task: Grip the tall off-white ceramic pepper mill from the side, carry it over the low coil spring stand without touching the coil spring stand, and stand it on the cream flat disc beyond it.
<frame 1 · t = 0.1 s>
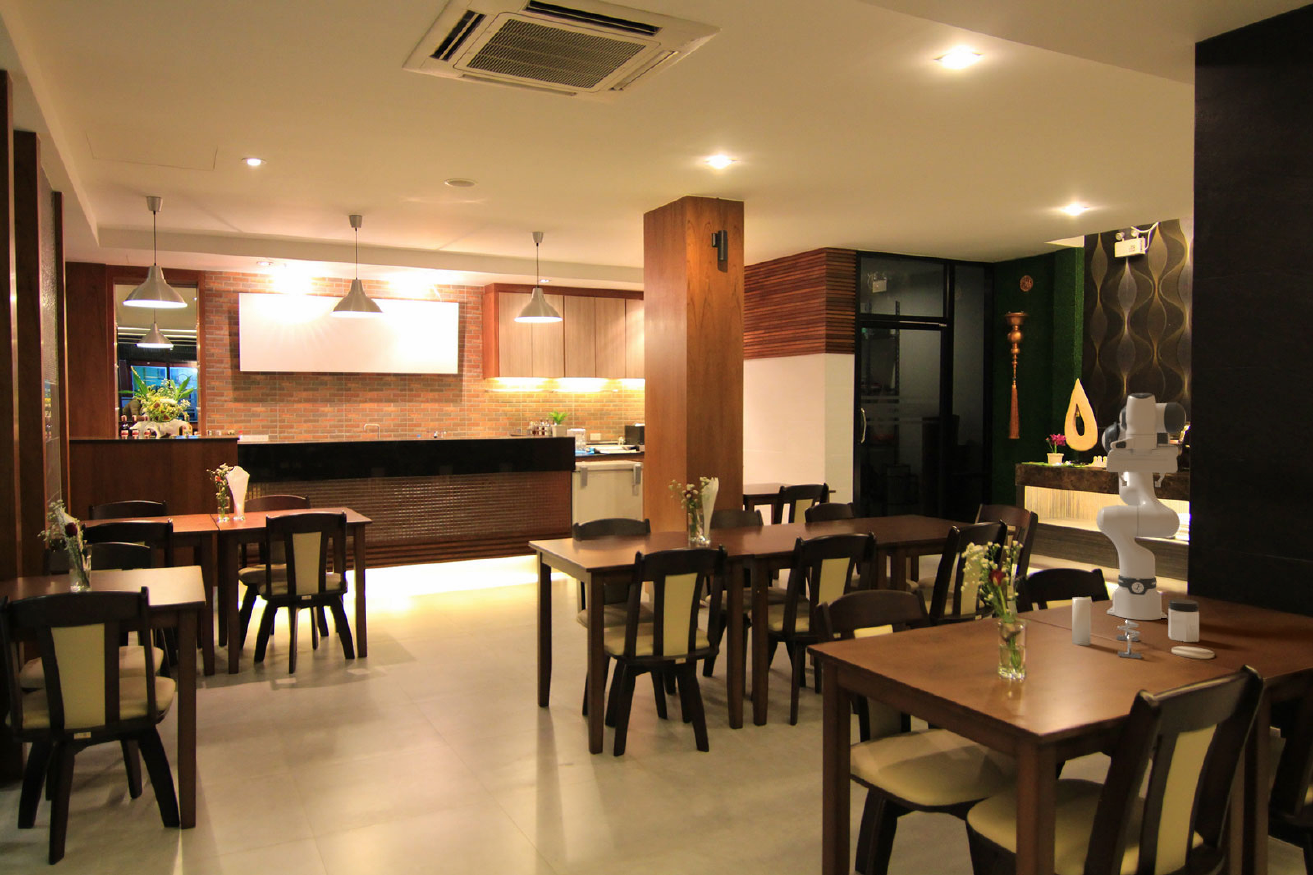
hand: (1141, 486, 290), 48 cm above the table, tool pointing down, fingers open, 8 cm apart
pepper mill: (1081, 643, 282), on the table
coil spring stand: (1128, 648, 276), on the table
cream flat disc: (1192, 653, 269), on the table
jar: (1183, 639, 286), on the table
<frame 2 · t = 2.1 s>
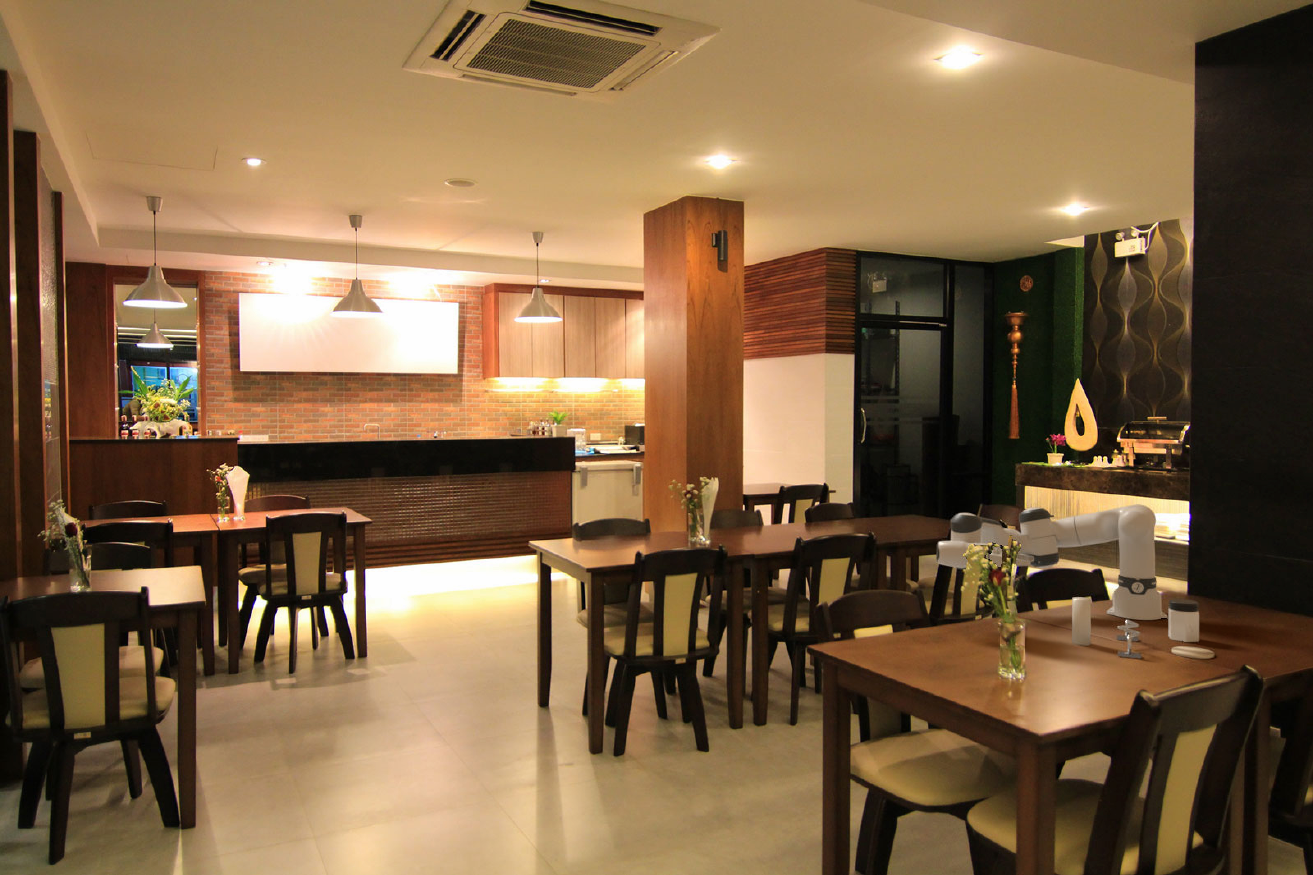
hand: (1032, 561, 289), 25 cm above the table, tool horizontal, fingers open, 8 cm apart
nothing on the table moved.
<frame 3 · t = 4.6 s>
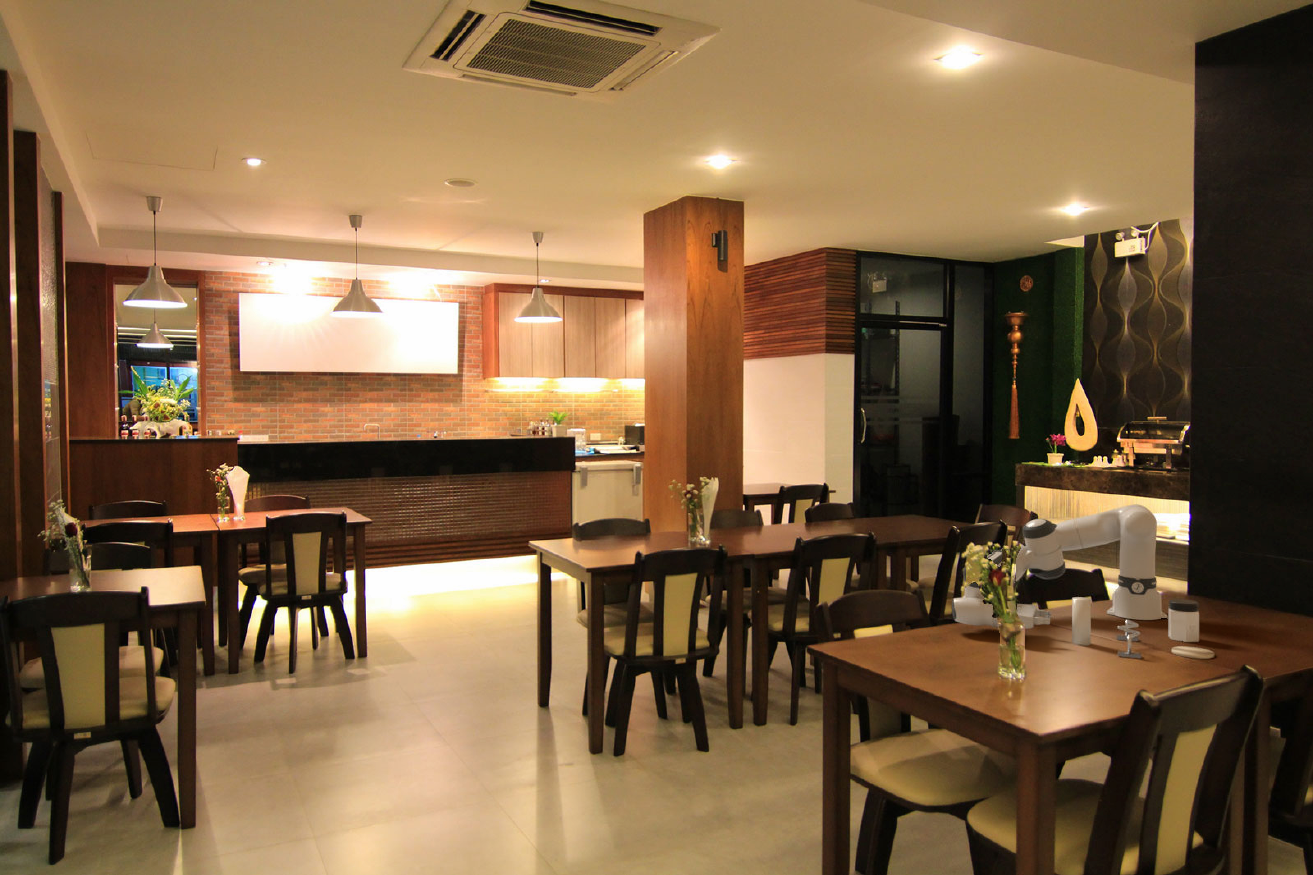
hand: (1050, 617, 285), 7 cm above the table, tool horizontal, fingers open, 8 cm apart
nothing on the table moved.
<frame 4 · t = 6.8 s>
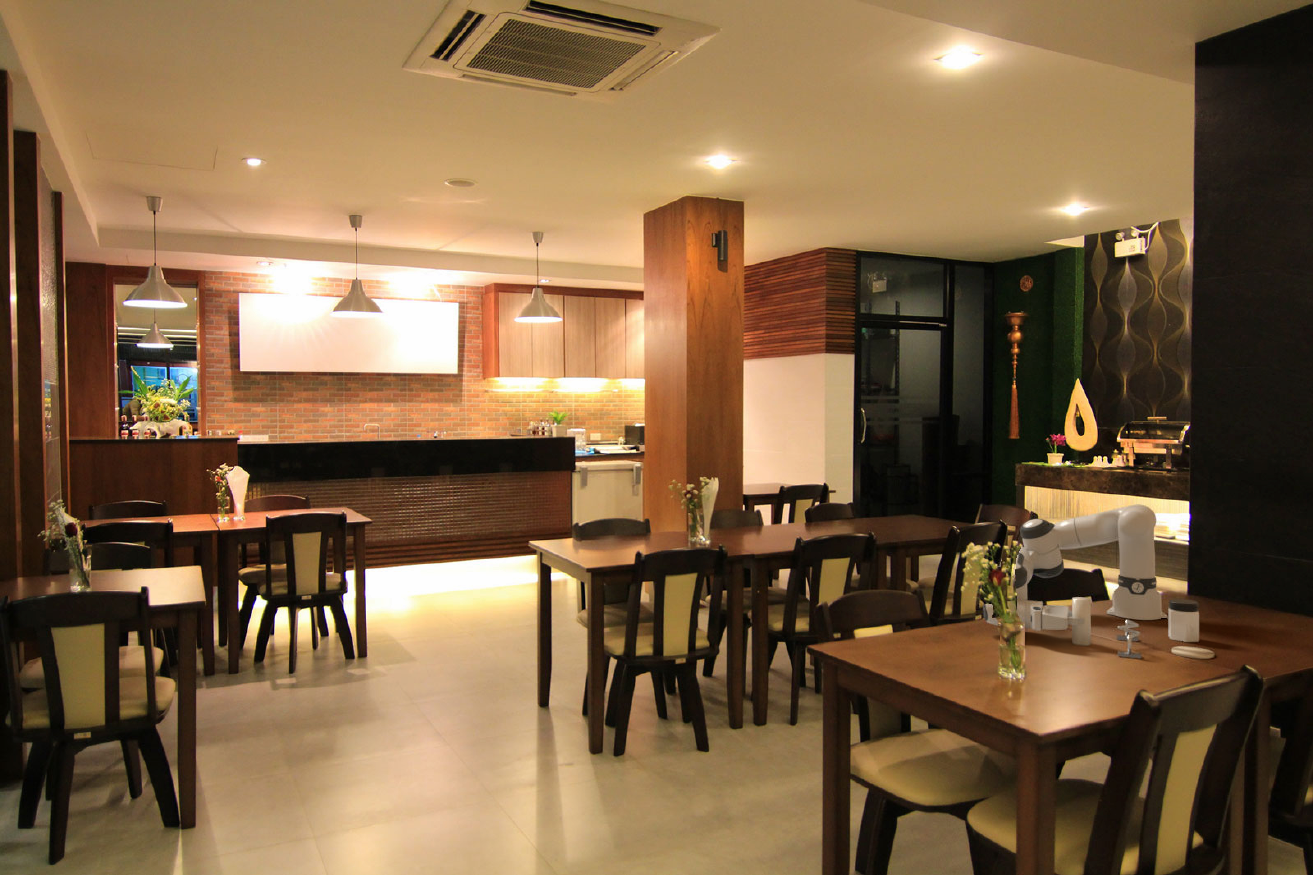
hand: (1084, 619, 281), 8 cm above the table, tool horizontal, fingers closed on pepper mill, 5 cm apart
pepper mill: (1081, 643, 282), on the table, touching gripper
everything else where it was.
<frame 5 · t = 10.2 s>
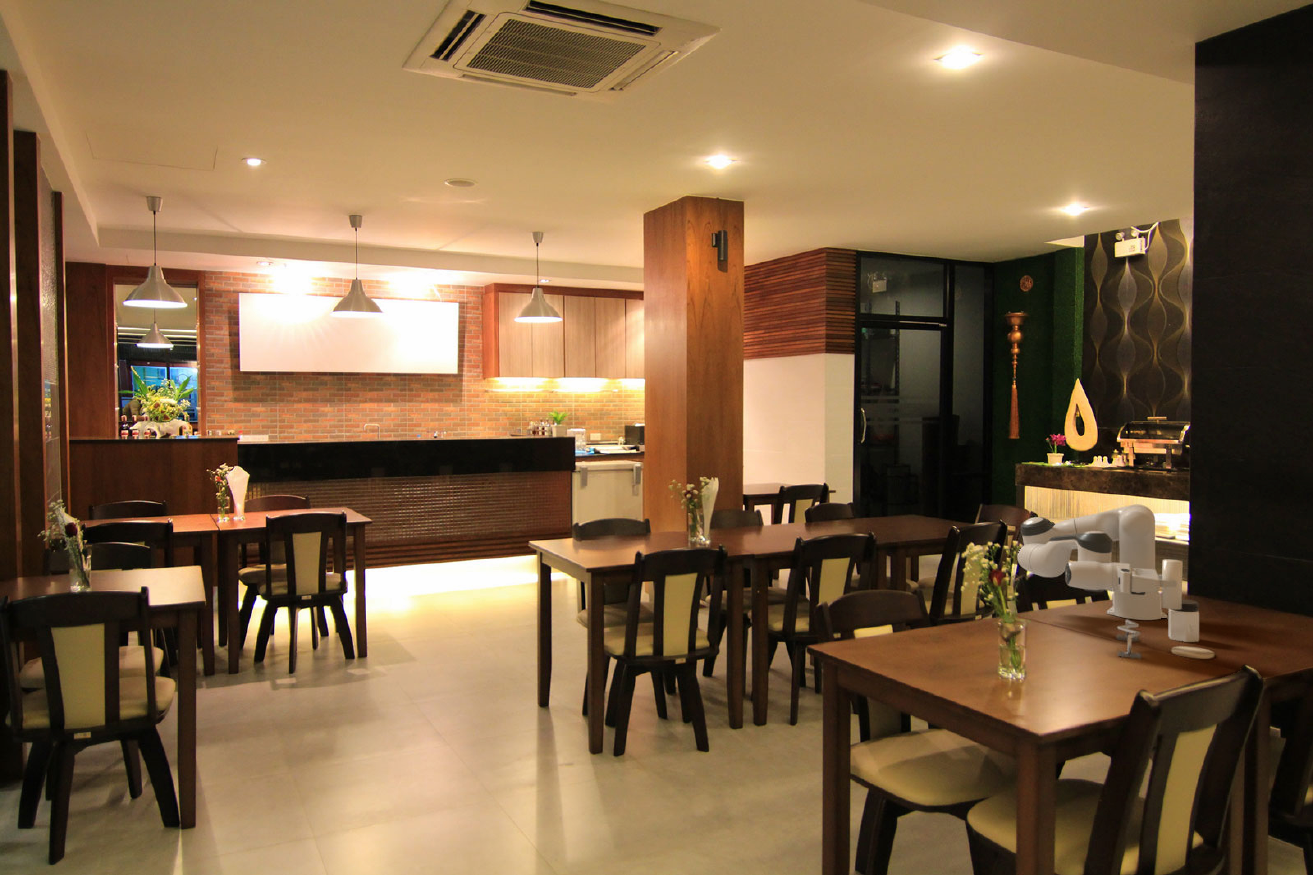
hand: (1175, 581, 269), 21 cm above the table, tool horizontal, fingers closed on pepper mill, 5 cm apart
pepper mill: (1171, 607, 269), point 14 cm above the table, touching gripper
everything else where it was.
when the fingers open (11 cm above the table, at t = 13.4 s): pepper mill drops 2 cm, resting on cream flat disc.
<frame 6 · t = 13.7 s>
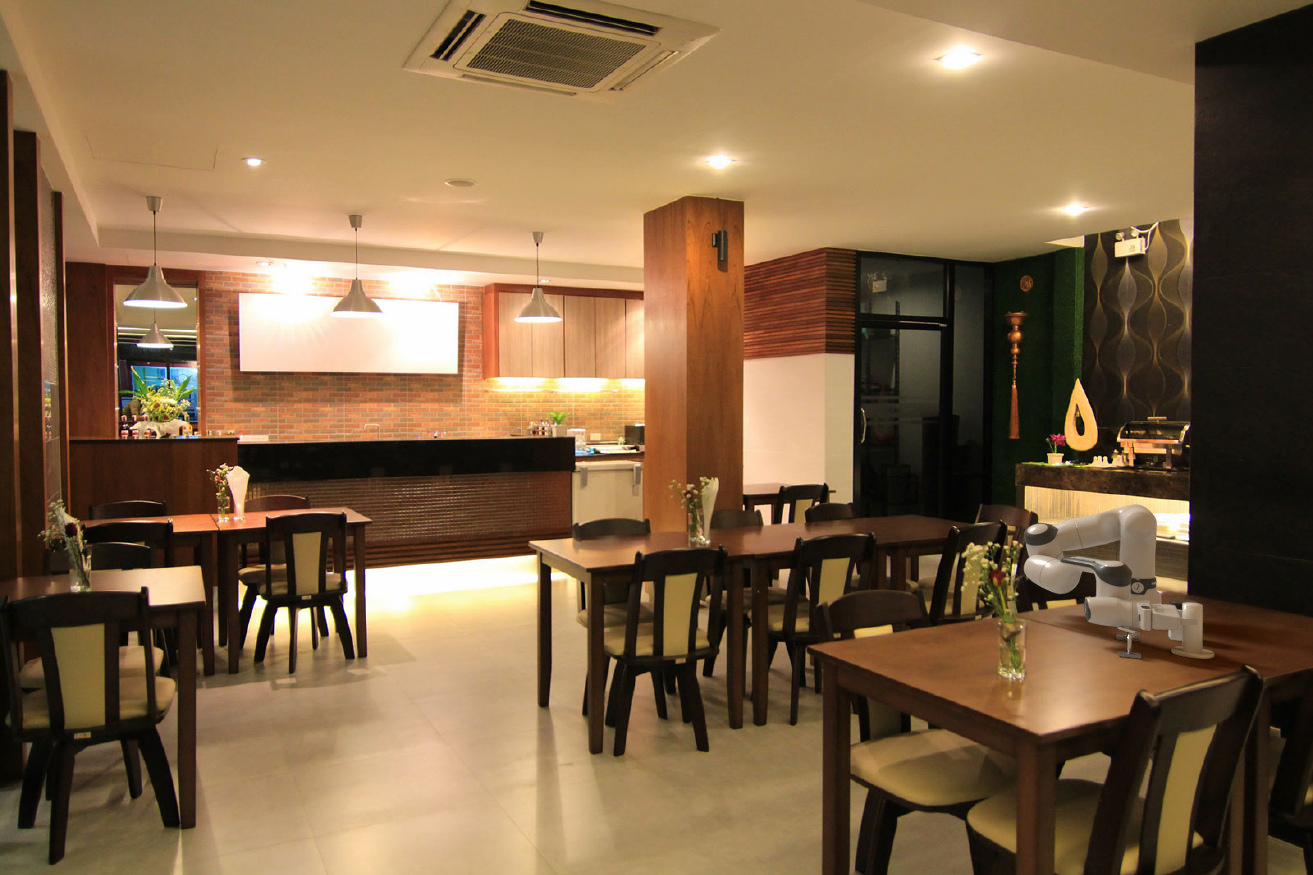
hand: (1196, 618, 268), 11 cm above the table, tool horizontal, fingers open, 8 cm apart
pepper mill: (1192, 651, 269), point 1 cm above the table, touching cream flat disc
coil spring stand: (1128, 647, 276), on the table, touching arm
everything else where it was.
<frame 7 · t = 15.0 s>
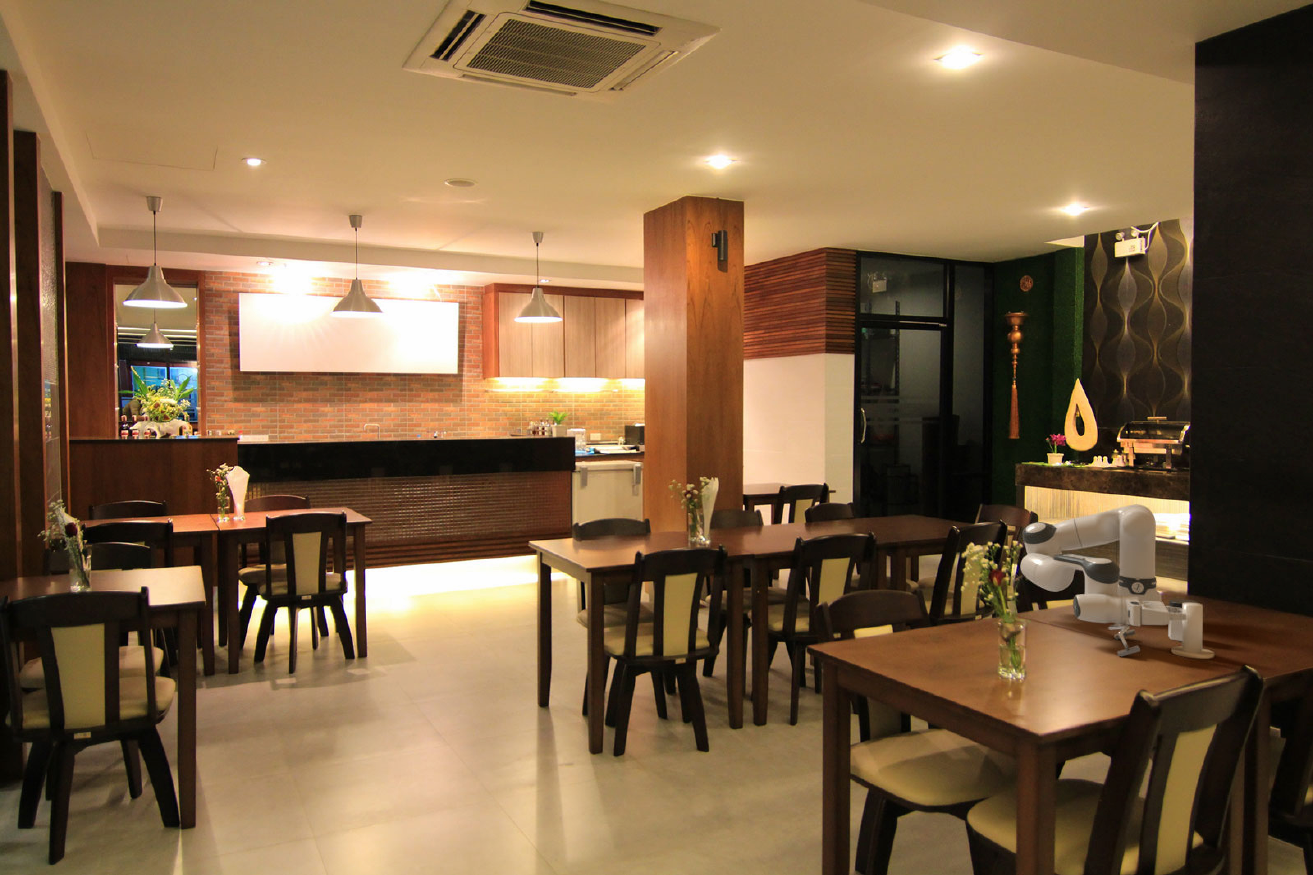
hand: (1184, 614, 270), 12 cm above the table, tool horizontal, fingers open, 8 cm apart
coil spring stand: (1127, 644, 276), point 1 cm above the table, tilted 23°, touching arm
everything else where it was.
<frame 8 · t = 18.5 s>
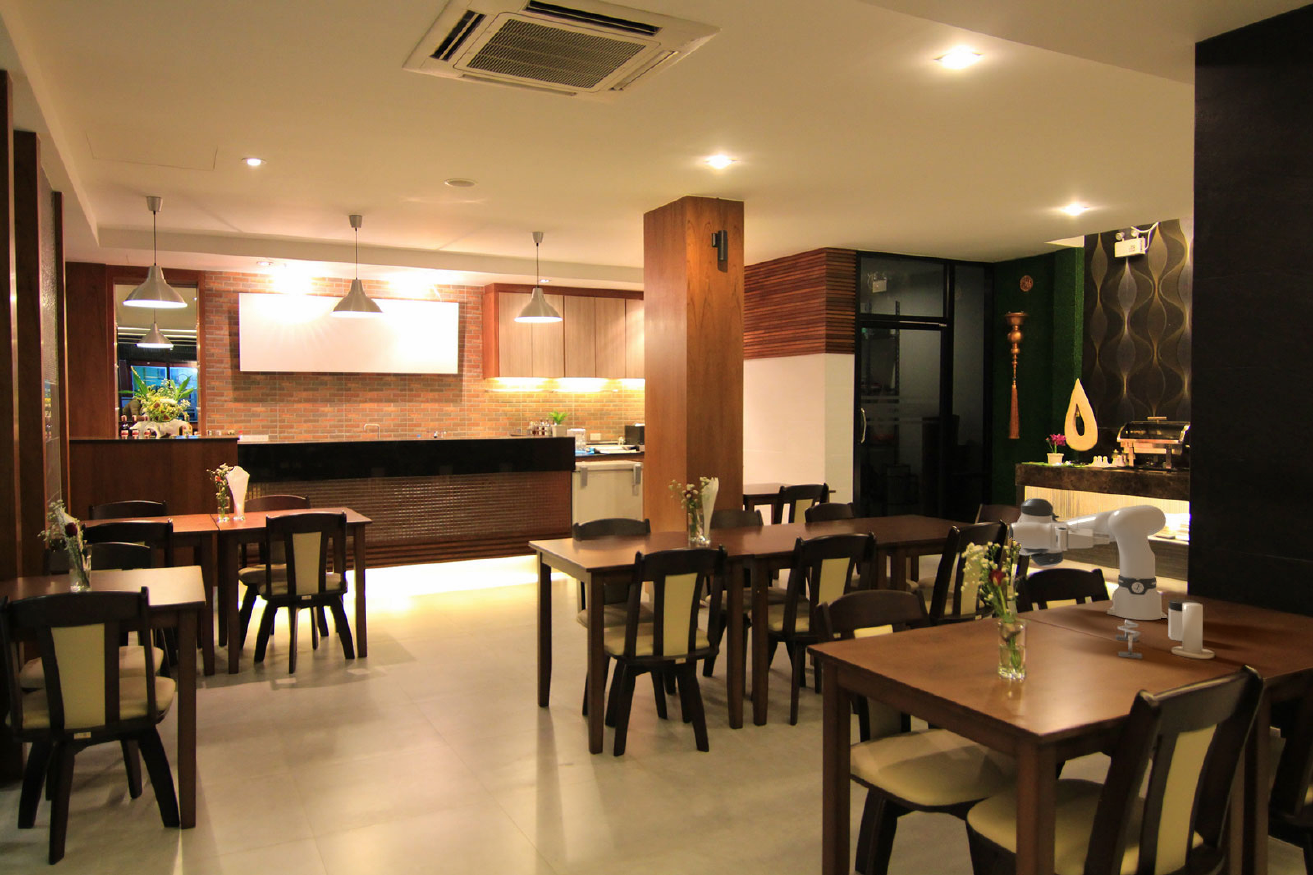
hand: (1109, 539, 286), 32 cm above the table, tool horizontal, fingers open, 8 cm apart
coil spring stand: (1128, 648, 276), on the table
everything else where it was.
at the end: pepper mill 0.1 cm off-centre on the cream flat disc, point 0.8 cm above the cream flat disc's base; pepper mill tilted 0°; coil spring stand moved 0.1 cm from its start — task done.
